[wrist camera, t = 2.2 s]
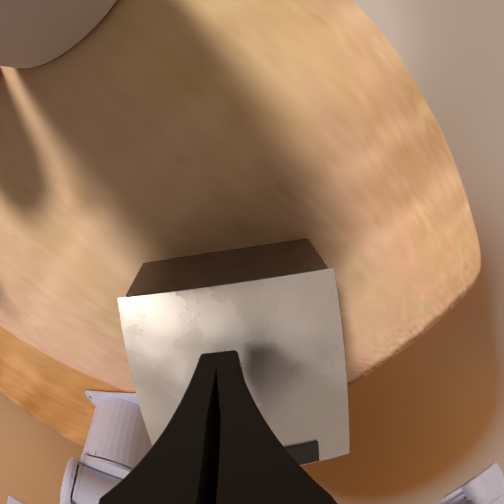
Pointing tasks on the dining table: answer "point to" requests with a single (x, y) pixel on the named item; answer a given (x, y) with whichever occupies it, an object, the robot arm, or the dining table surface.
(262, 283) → the lid
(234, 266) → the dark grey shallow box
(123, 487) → the robot arm
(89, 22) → the cylinder vase
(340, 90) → the dining table surface
